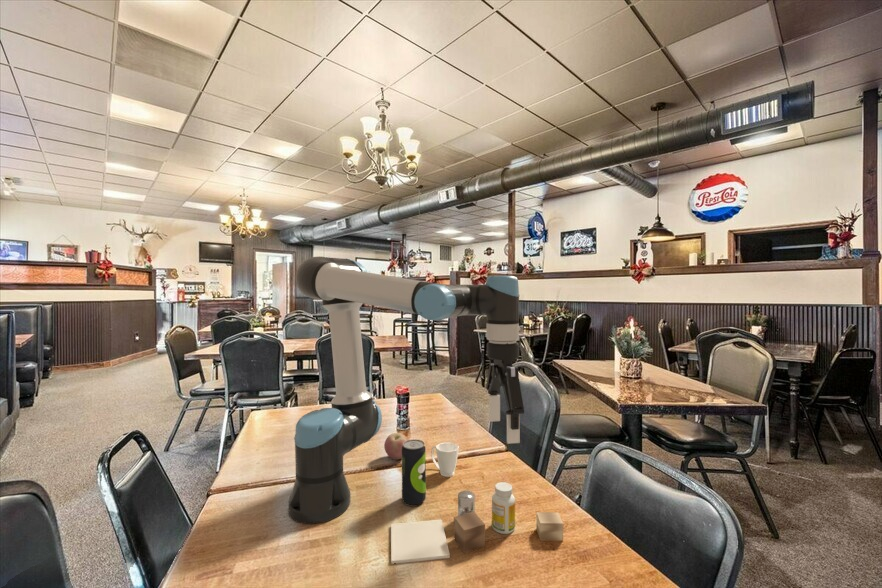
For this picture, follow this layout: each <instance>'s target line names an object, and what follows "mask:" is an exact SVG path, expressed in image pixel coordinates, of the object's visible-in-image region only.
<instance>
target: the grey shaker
mask: <svg viewBox="0 0 882 588" xmlns="http://www.w3.org/2000/svg"><path fill="white" fill-rule="evenodd" d="M475 496H476V495H475V493H474V492H473V491H471V490H462V491H459V492H458V493H457V516H459V515H463V514H467V513H470V512H475V513H476V510H475V509H476V508H475V504H476V503H475V498H476V497H475Z"/></svg>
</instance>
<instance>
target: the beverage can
mask: <svg viewBox="0 0 882 588" xmlns="http://www.w3.org/2000/svg"><path fill="white" fill-rule="evenodd" d="M426 457H427V456H426V445H425V441H423V440H421V439H417V438H416V439H414V438H413V439H408V440H407V441H405V442H404V443H403V446H402V458H401V500H402V501H403V502H404V504H405V505H407V506H409V507H415V506H419V505H422V504H423V503H424V501H425V500H426V497H427V496H426V495H427V494H426V493H427V492H426V489H427V488H426V485H427V482H426V478H427V477H426V476H427V475H426V472H427V471H426V470H427V468H426V466H427V465H426V462H427V461H426Z"/></svg>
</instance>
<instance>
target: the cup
mask: <svg viewBox="0 0 882 588" xmlns="http://www.w3.org/2000/svg"><path fill="white" fill-rule="evenodd" d="M434 451H435V452H436V453H435V454H436V458H437V459H435V456H434ZM459 451H460V446H459V445H458V444H456V443H455V442H449V441H446V442H441V443H438V444H437V445H433V446H432V447H431V452H430V453H431V454H430V457H431V461H432V462H433V464H434V465H435V466H436V468H437V469H438V471H440V473H439V474H440V475H441V476H442V477H446V478H449V477H453V476H454V475H455V474H456V473H455V469H456V468H457V467H456V466H457V462H458V456H459ZM436 460H437V461H436Z"/></svg>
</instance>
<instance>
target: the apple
mask: <svg viewBox="0 0 882 588" xmlns="http://www.w3.org/2000/svg"><path fill="white" fill-rule="evenodd" d="M407 440H409V439H408V438H407V437H406V435H405V434H403V433H400V432H393V433H391V434H389V435H388V436H387V437H386V439H385V441H384V444H383V445H384V446H383V448H384V452H385V453H386V455H387V456H388V457H389V458H391V459H393V460H402V446H403V443H404V442H405V441H407Z"/></svg>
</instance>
